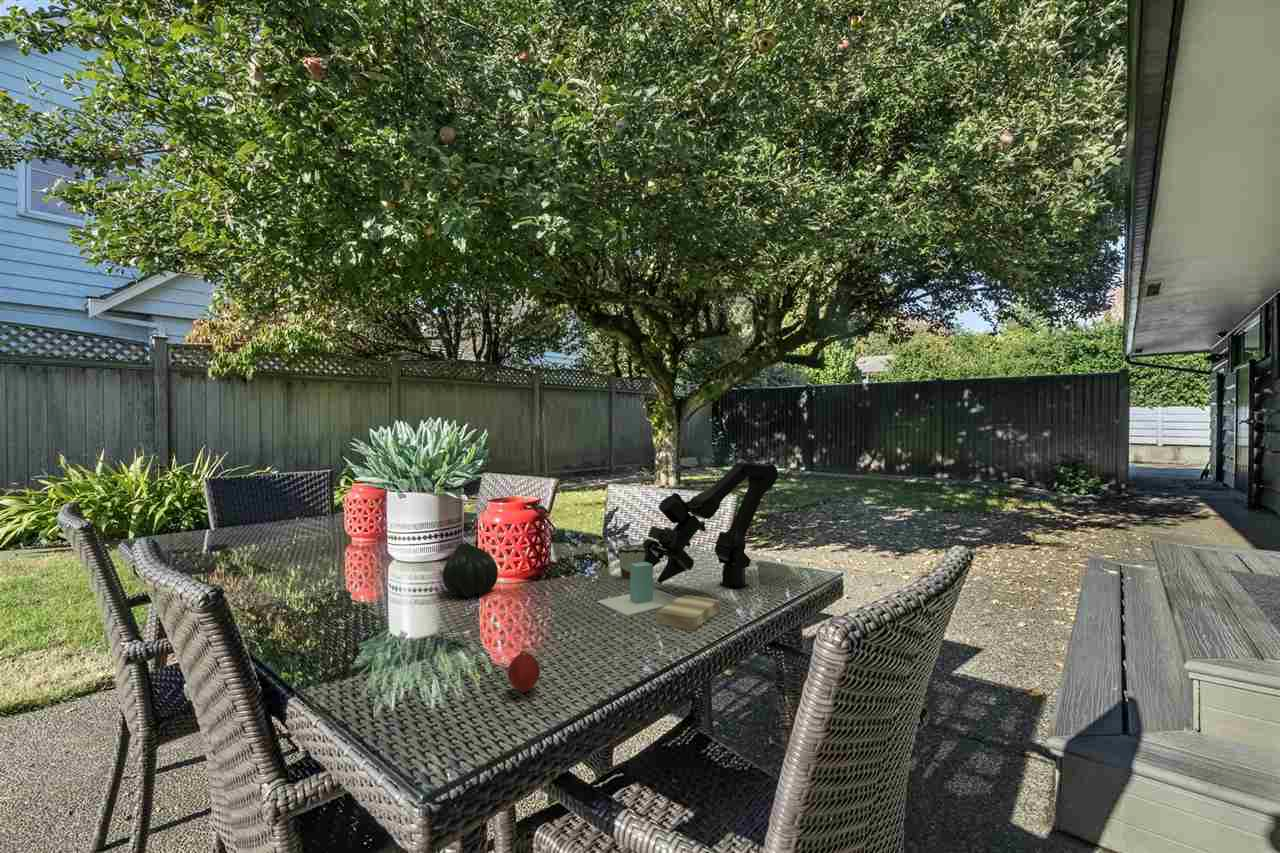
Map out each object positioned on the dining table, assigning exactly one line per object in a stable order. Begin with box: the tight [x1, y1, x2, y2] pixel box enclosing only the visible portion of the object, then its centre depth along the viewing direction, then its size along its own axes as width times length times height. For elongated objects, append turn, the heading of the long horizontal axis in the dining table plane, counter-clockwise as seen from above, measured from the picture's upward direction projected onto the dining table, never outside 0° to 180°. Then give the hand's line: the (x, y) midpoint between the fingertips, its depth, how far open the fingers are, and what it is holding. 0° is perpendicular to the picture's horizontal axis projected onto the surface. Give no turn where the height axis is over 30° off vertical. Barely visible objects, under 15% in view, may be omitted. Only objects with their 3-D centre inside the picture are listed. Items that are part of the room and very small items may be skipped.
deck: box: [656, 594, 720, 632], centre depth 154 cm, size 16×10×3 cm, turn 151°
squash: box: [442, 542, 499, 598], centre depth 174 cm, size 14×15×15 cm
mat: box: [596, 588, 680, 617], centre depth 166 cm, size 20×14×1 cm
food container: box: [616, 544, 645, 581], centre depth 190 cm, size 12×6×10 cm, turn 84°
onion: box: [507, 649, 541, 693], centre depth 113 cm, size 6×6×8 cm
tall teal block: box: [629, 562, 654, 604], centre depth 166 cm, size 5×4×10 cm
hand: (649, 578), depth 167 cm, fingers open, 9 cm apart
